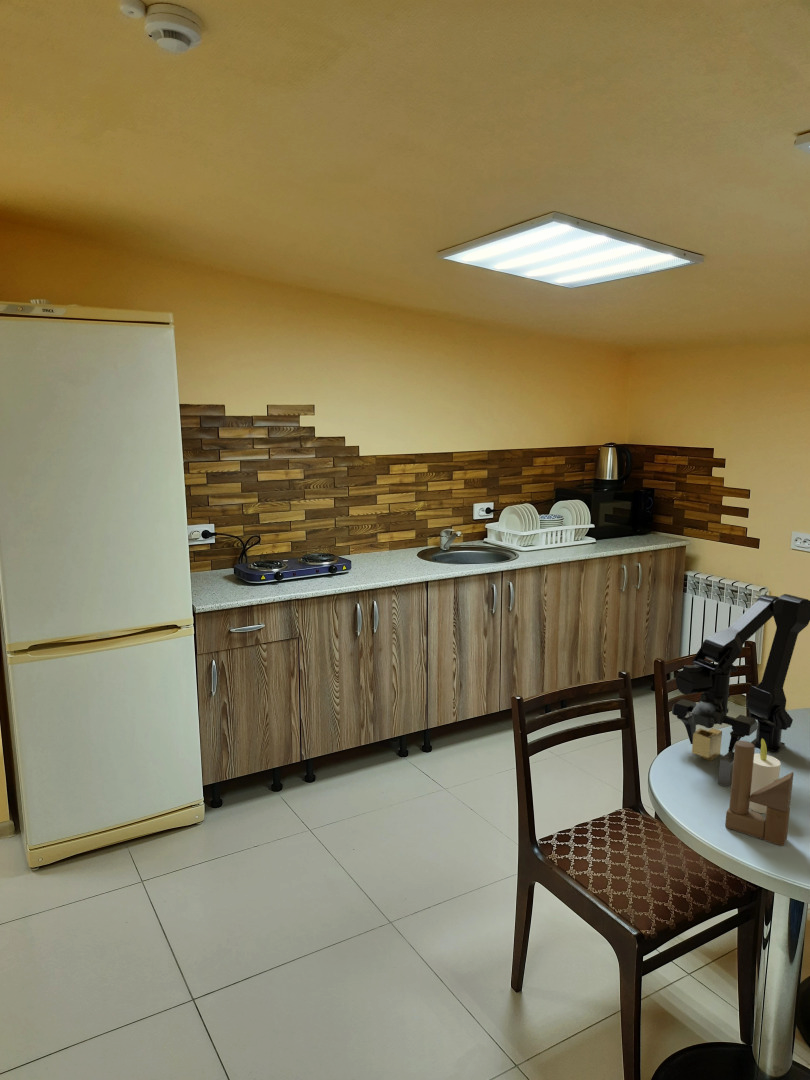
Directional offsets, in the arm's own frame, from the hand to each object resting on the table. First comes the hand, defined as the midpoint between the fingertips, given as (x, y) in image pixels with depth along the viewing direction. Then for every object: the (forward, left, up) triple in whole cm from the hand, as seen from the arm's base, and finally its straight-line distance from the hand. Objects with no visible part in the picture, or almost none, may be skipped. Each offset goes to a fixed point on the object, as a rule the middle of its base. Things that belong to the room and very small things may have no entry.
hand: (710, 749), depth 178 cm
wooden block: (+28, +20, -2) cm, 35 cm away
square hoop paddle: (+1, 0, -2) cm, 2 cm away
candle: (+16, +17, -2) cm, 24 cm away
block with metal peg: (+8, +8, -2) cm, 11 cm away
